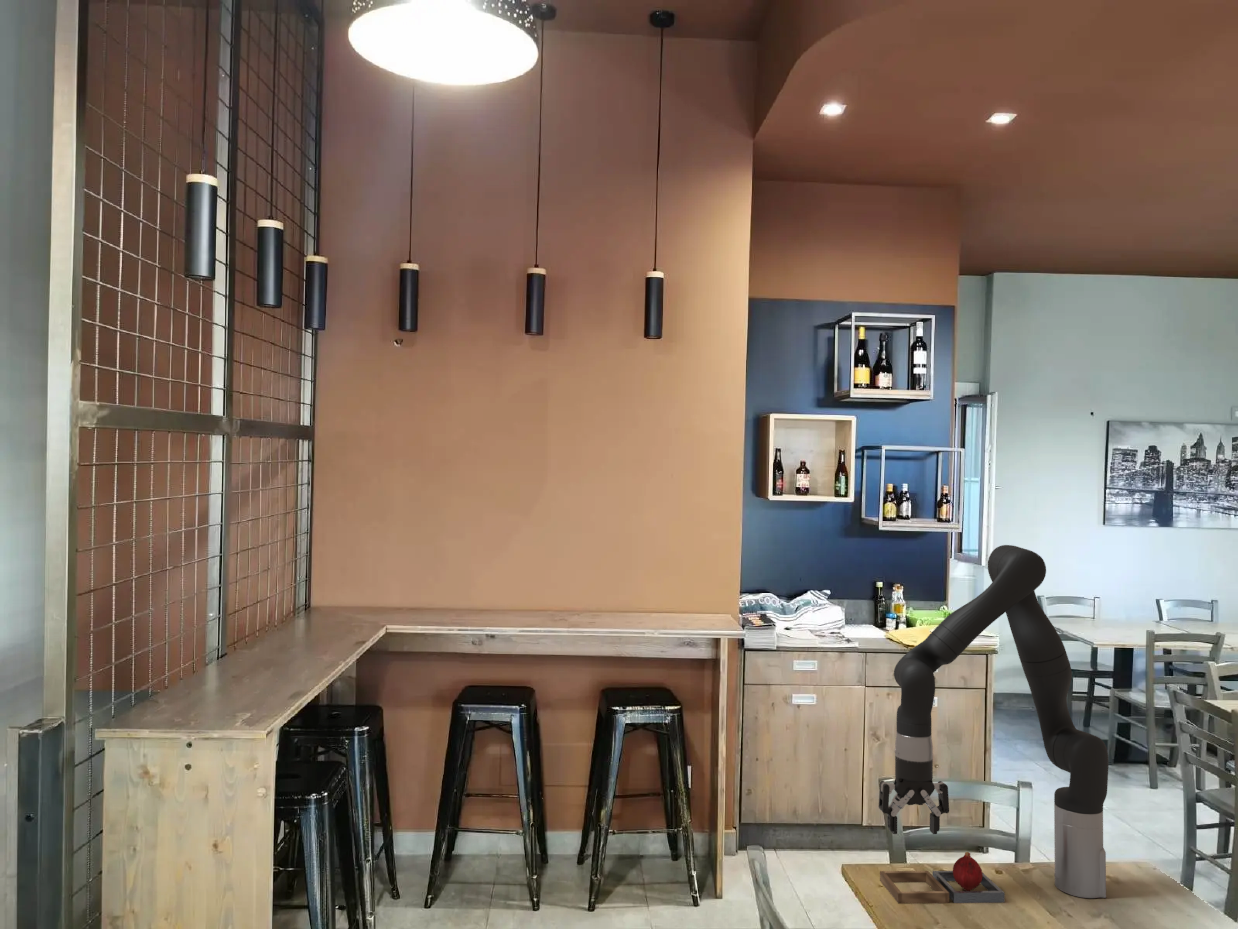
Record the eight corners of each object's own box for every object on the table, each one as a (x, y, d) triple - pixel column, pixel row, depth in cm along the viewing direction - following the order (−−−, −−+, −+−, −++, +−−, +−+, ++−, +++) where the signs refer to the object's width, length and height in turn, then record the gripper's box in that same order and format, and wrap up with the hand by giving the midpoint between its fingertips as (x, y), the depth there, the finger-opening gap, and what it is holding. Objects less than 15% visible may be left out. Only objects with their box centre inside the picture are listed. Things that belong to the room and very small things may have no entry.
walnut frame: (928, 880, 188) (928, 871, 188) (949, 903, 177) (949, 893, 178) (879, 880, 187) (879, 871, 188) (898, 903, 177) (898, 893, 177)
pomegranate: (985, 898, 180) (984, 859, 180) (955, 895, 181) (955, 856, 181) (979, 886, 185) (979, 848, 186) (950, 884, 186) (950, 846, 187)
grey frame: (980, 880, 189) (980, 870, 189) (1004, 902, 178) (1004, 892, 178) (932, 880, 188) (932, 871, 188) (953, 903, 177) (953, 893, 178)
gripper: (887, 760, 179) (886, 840, 179) (954, 760, 180) (954, 839, 180) (874, 749, 187) (874, 826, 186) (939, 750, 188) (939, 826, 187)
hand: (913, 833), depth 183 cm, fingers open, 8 cm apart
